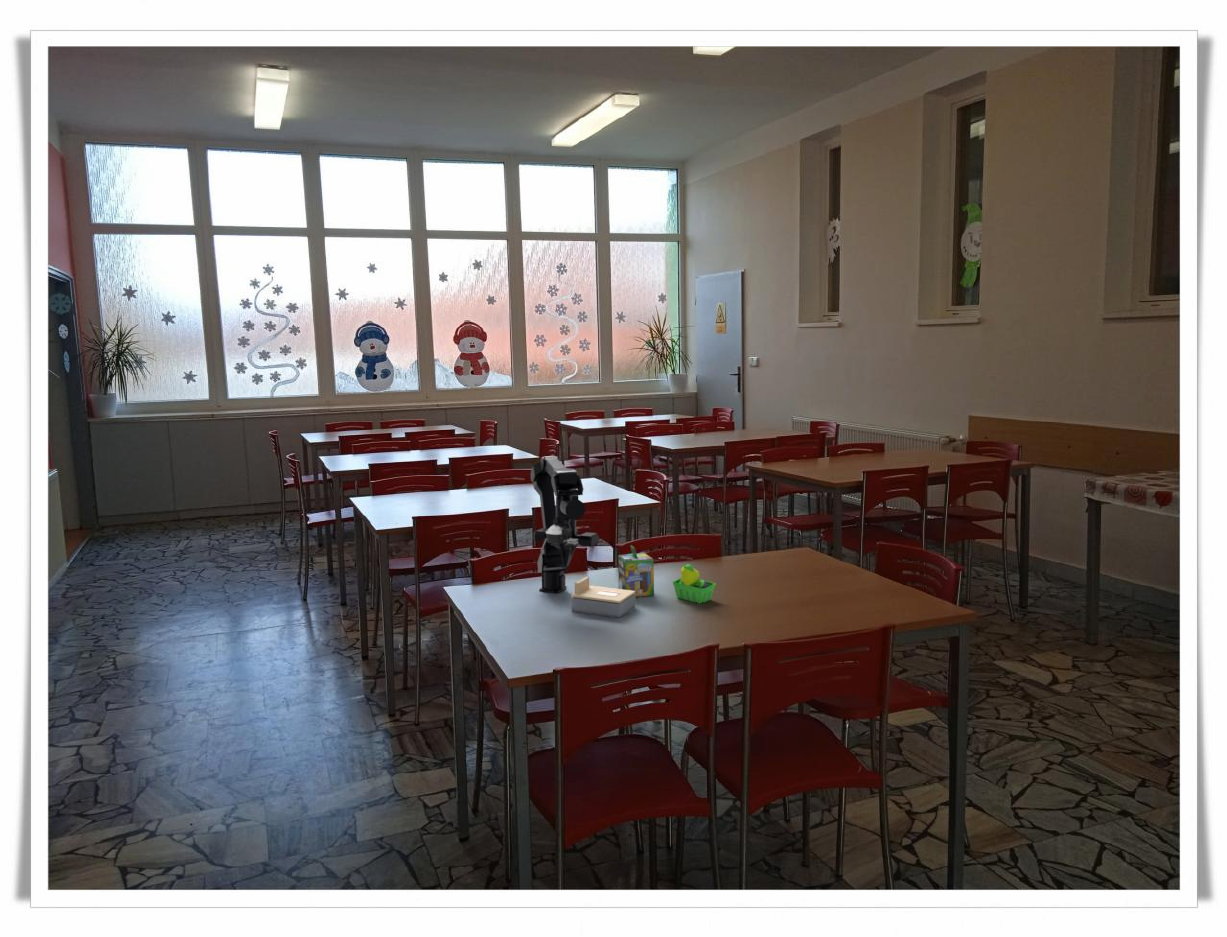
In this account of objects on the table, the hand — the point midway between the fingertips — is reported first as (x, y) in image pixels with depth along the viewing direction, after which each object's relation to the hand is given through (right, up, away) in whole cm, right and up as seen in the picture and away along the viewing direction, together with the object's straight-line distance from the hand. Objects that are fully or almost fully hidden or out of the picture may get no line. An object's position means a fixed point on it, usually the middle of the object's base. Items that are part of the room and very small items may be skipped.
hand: (566, 566), depth 247 cm
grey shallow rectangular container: (+11, -12, -3) cm, 17 cm away
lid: (+11, -8, -4) cm, 14 cm away
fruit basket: (+37, -11, +6) cm, 39 cm away
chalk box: (+21, -10, +13) cm, 26 cm away
